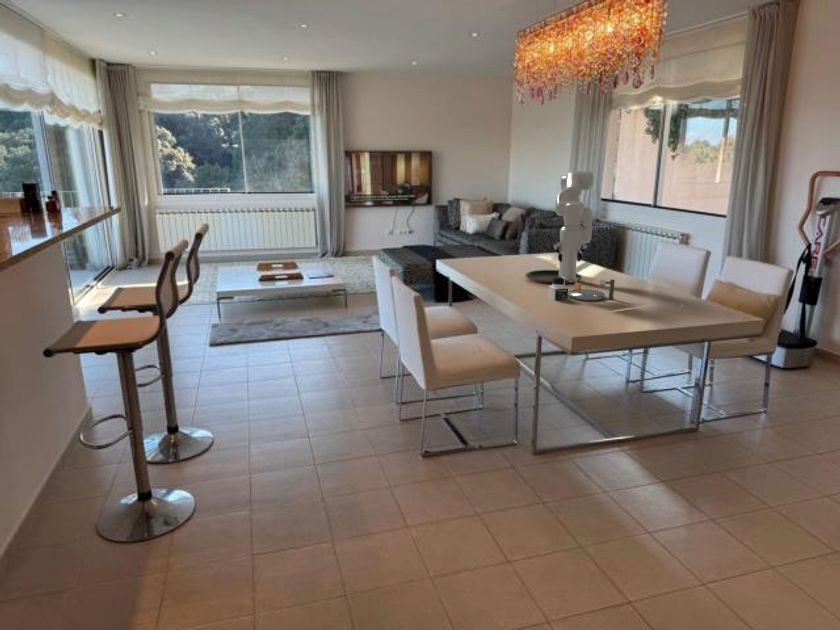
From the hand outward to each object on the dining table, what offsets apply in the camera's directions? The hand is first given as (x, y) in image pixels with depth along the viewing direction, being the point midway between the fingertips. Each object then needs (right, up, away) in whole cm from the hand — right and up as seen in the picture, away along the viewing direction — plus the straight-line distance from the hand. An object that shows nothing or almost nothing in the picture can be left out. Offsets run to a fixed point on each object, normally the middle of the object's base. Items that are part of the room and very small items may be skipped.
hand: (569, 261), depth 294 cm
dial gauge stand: (+17, -21, -6) cm, 27 cm away
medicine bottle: (-7, -20, -3) cm, 22 cm away
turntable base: (+8, -19, -1) cm, 21 cm away
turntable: (+8, -18, -1) cm, 20 cm away
